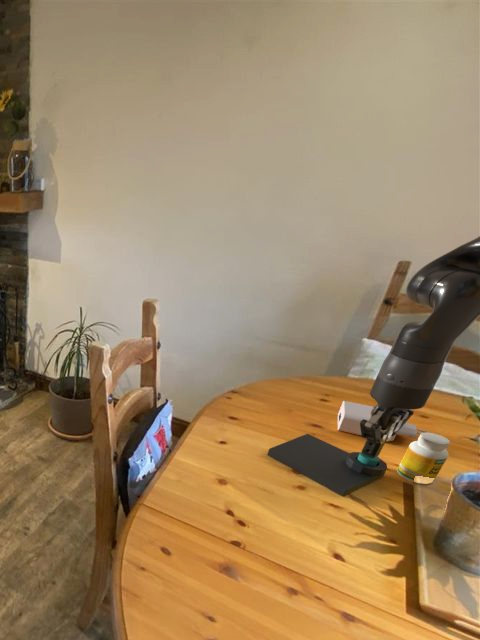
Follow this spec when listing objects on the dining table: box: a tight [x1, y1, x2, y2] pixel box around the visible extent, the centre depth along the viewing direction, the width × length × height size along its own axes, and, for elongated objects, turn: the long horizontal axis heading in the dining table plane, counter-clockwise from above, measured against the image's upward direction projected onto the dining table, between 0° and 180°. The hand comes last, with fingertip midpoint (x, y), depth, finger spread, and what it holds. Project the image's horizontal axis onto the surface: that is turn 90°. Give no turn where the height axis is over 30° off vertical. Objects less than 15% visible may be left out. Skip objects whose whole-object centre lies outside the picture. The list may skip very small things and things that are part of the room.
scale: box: [266, 433, 388, 498], centre depth 88 cm, size 15×13×4 cm
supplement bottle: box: [396, 432, 451, 483], centre depth 82 cm, size 5×5×10 cm
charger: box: [337, 400, 428, 443], centre depth 97 cm, size 5×9×15 cm
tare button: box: [357, 451, 380, 466], centre depth 84 cm, size 3×3×2 cm
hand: (369, 454), depth 84 cm, fingers closed
